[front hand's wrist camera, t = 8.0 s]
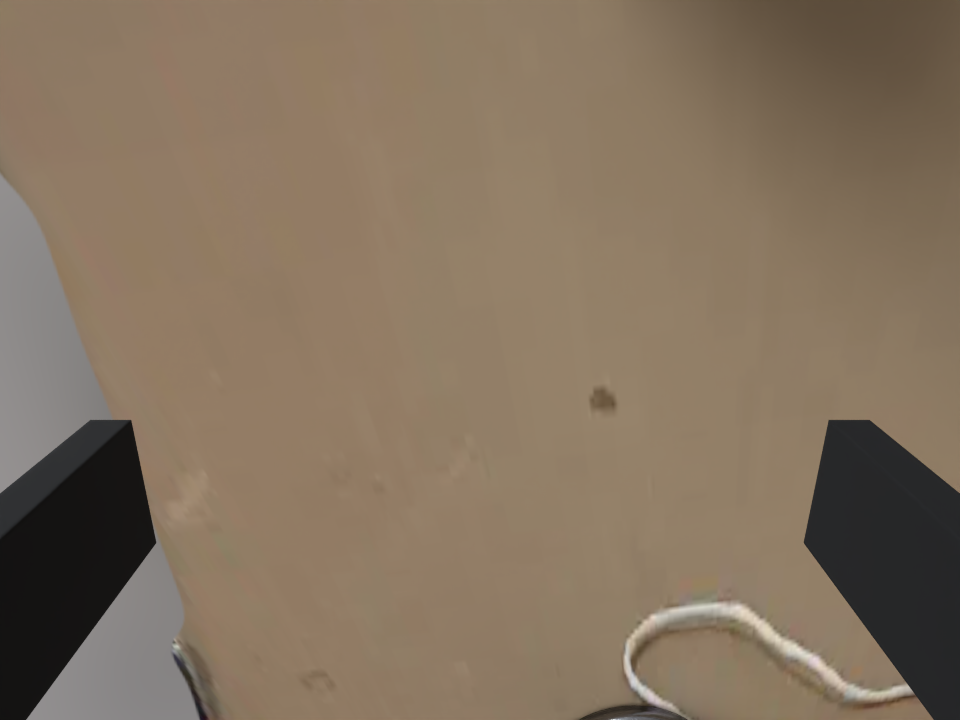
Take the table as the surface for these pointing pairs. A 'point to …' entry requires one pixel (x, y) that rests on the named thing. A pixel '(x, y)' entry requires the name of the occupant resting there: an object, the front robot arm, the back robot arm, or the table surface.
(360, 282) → the table surface
